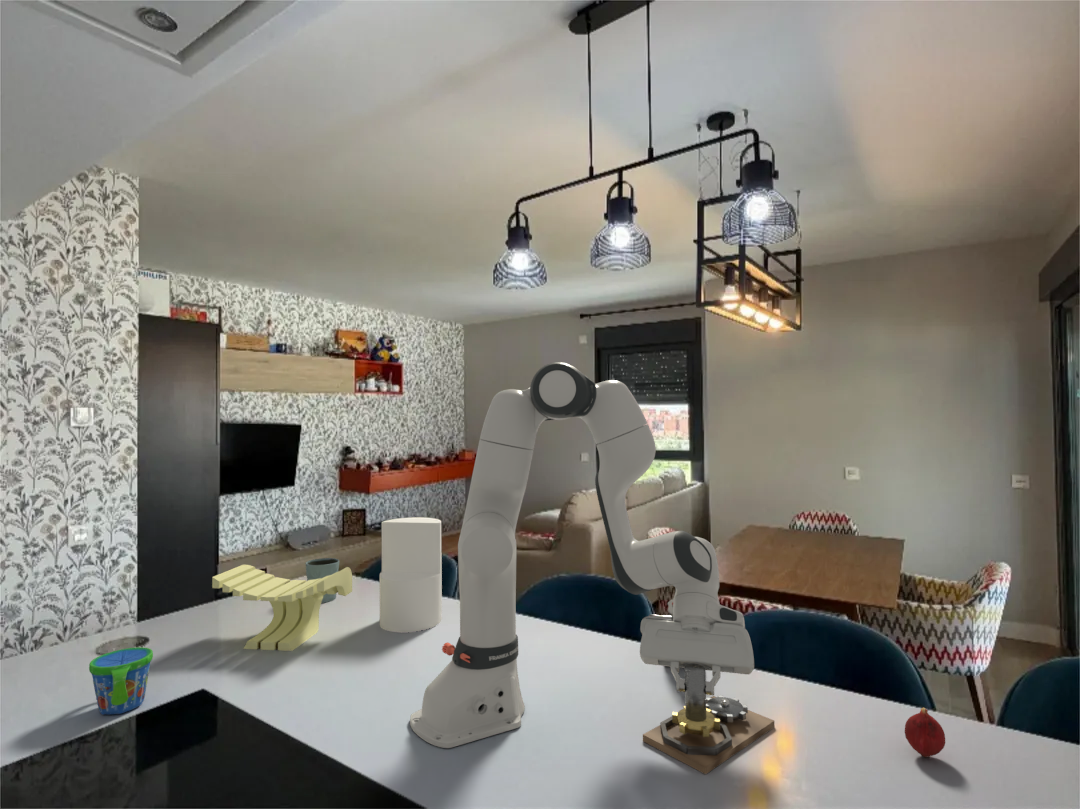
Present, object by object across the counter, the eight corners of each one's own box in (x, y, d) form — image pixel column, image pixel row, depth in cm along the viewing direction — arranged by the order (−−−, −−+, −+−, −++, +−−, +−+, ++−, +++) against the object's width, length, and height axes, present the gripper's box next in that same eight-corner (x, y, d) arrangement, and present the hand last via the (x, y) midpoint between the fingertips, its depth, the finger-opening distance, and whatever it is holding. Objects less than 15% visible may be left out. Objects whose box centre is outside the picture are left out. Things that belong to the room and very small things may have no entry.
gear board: (705, 774, 96) (705, 760, 96) (642, 741, 106) (642, 728, 106) (774, 727, 110) (774, 715, 110) (713, 701, 120) (713, 690, 120)
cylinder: (393, 610, 179) (393, 516, 179) (449, 612, 176) (448, 517, 177) (369, 631, 161) (368, 527, 162) (430, 633, 159) (430, 528, 160)
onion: (952, 768, 97) (951, 719, 97) (913, 764, 98) (912, 715, 98) (936, 749, 103) (935, 702, 103) (899, 745, 104) (898, 699, 104)
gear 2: (732, 734, 106) (732, 716, 106) (694, 717, 112) (694, 700, 112) (756, 719, 111) (755, 701, 111) (718, 703, 117) (718, 687, 117)
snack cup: (98, 696, 125) (98, 647, 125) (157, 686, 129) (158, 639, 130) (79, 732, 111) (79, 677, 111) (146, 718, 115) (146, 666, 116)
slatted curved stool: (352, 629, 163) (352, 564, 163) (324, 652, 147) (323, 580, 148) (250, 625, 167) (250, 561, 167) (212, 647, 151) (212, 577, 151)
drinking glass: (299, 603, 186) (299, 564, 187) (316, 593, 196) (316, 557, 197) (329, 604, 185) (329, 565, 185) (345, 594, 195) (345, 557, 195)
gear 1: (700, 742, 100) (699, 682, 100) (664, 724, 106) (663, 668, 106) (727, 725, 105) (726, 668, 105) (691, 709, 111) (690, 655, 111)
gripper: (640, 605, 115) (634, 678, 106) (751, 614, 109) (756, 692, 100) (643, 621, 119) (637, 692, 110) (751, 630, 114) (755, 706, 104)
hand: (695, 692), depth 105 cm, fingers closed on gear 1, 4 cm apart
